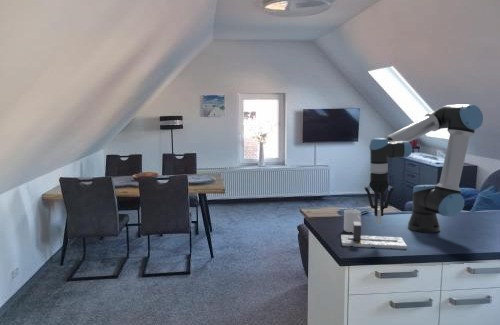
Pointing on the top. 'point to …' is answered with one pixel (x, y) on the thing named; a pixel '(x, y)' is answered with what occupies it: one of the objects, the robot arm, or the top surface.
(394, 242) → the fader console
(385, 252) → the top surface
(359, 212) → the mug
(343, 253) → the top surface
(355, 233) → the fader tab
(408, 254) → the top surface
